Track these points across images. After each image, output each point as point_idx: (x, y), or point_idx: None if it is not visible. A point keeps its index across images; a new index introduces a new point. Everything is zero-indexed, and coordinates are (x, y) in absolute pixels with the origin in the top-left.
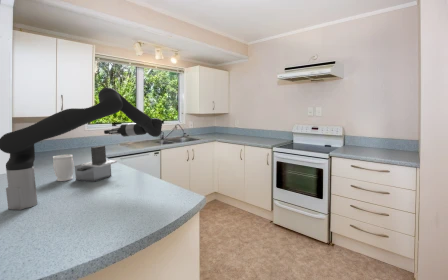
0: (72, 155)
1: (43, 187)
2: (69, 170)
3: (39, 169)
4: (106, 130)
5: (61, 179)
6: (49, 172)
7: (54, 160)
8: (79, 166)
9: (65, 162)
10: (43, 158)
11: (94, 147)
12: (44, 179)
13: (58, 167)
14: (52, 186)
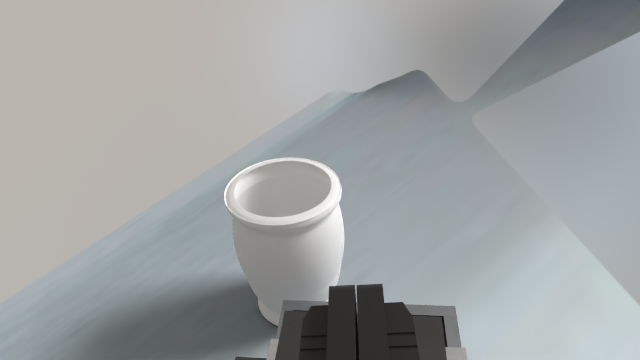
0: (309, 219)
1: (153, 314)
2: (279, 294)
3: (414, 115)
4: (329, 332)
5: (260, 302)
6: (390, 164)
7: (239, 196)
8: (276, 338)
9: (253, 248)
10: (542, 35)
11: (281, 350)
12: None
13: (235, 249)
14: (167, 340)
